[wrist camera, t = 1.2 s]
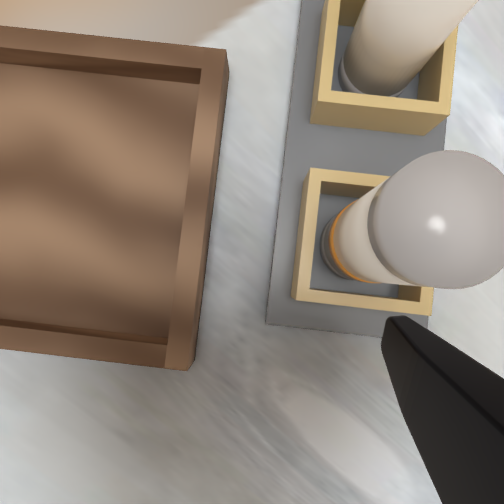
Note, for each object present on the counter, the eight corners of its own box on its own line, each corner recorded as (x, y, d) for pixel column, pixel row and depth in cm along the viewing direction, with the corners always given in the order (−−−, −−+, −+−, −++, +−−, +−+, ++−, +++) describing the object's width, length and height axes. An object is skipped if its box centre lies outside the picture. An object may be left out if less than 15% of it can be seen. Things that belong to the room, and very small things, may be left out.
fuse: (403, 111, 23) (544, -39, 12) (334, 103, 23) (409, -54, 12) (410, 44, 23) (555, -167, 12) (341, 36, 23) (422, -181, 12)
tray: (194, 360, 23) (186, 371, 20) (-96, 325, 23) (-138, 332, 21) (229, 72, 24) (226, 49, 21) (-51, 42, 24) (-87, 16, 22)
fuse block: (418, 339, 23) (452, 354, 19) (265, 321, 23) (267, 332, 19) (449, 10, 24) (488, -42, 20) (302, -5, 24) (311, -61, 20)
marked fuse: (387, 285, 22) (516, 298, 11) (314, 276, 22) (372, 282, 11) (394, 213, 22) (528, 156, 11) (322, 205, 22) (386, 140, 11)
